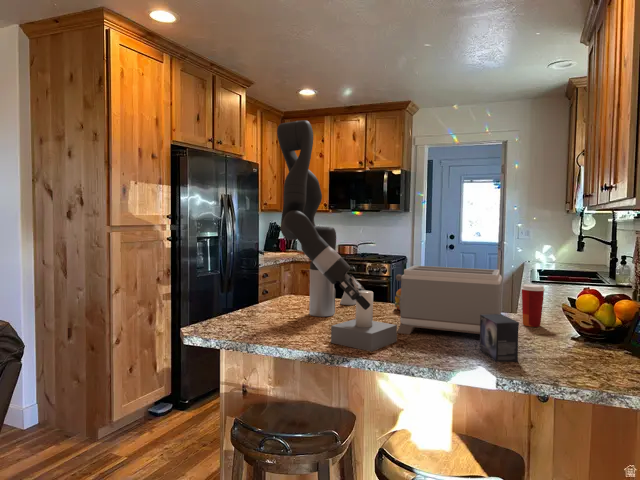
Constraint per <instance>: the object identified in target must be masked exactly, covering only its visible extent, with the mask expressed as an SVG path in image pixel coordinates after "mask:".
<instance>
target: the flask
mask: <svg viewBox="0 0 640 480" xmlns="http://www.w3.org/2000/svg"><path fill="white" fill-rule="evenodd" d="M339 304H340V305H345V306H354V305H355V306H356V301H355V300H352V299H351V298H350V297H349V295H348V294H347V293H346V292H345V291H344V290H343V295H342V296H341V300H340V302H339Z"/></svg>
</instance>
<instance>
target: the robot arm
mask: <svg viewBox="0 0 640 480" xmlns="http://www.w3.org/2000/svg"><path fill="white" fill-rule="evenodd" d="M276 129H277V130H276V133H277V134H276V135H277V139H278V140H277V141H278V143H279V147H280V150H281V153H282V155H283V158H284V161H285V164H286V166H287V169H288V173H287V175H286V177H285V180H284V183H283V197H282V198H283V199H282V200H283V206H282V213H281V220H280V231H281V232H280V233H281V234H282V236H283V237H284V238H285V239H287V240H289V241H295V240H298V242H299V243H300V247H301V251H302V253H304V254H305V256H306V257H307V258H308V259H309V260H310V263H309V310H308V311H309V313H308V314H309V315H310V316H313V317H332V316H334V314H336V288H335V284H336V283H337V282H339V283H340V284H339V288H341V289H342V290H343V292H344V291H345V292H346V293H347V294H348V295H349V297H350V298H351V299H352V300H355V301H356V300H357V302H358V303H359V304H360V305H361V306H362V307H363V308H364V309H365V310H366V309H368V308H369V307H370V303H369V302H368V301H367V300H366V299H365V298H364V297H363V296H362V294H361V293H360V292H359V291H361V290H365V288H364V286H363V285H362V284H361V283H360V282H359V281H358V280H357V279H356V278H355V277H354V276H353V274H351V273H350V274H348V272H349V271H350V270H351V265H349V263H348V262H347V261H346V260H345V259H344V258H343V257H342V256H341V255H340V254H339V253H338V252H337V251H336V248H337V232H336V230H335V228H334V227H332V226H317V225H316V223H315V216H316V213H317V211H318V209H319V207H320V206H321V202H322V201H323V194H322V190H321V185H320V182H319V179H318V178H317V176H316V175H315V174H314V173H313V172H312V171H311V170H310V169H309V168H310V163H311V160H312V153H313V147H314V131H313V128H312V124H311V123H310V121H308V120H305V119H304V120H296V121H295V120H294V121H288V122H283V123H280V124H279V125H278V126H277V127H276ZM296 151H299V154H298V155H297V153H296Z"/></svg>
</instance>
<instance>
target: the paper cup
mask: <svg viewBox="0 0 640 480" xmlns="http://www.w3.org/2000/svg"><path fill="white" fill-rule="evenodd" d="M520 290H521V306H522V309H521V310H522V326H525V327H530V328H539V327H541V323H542V314H543V304H544V296H545V293H544V292H545V291H546V289H545V287H544V285H541V284H530V283H528V284H525V283H524V284H522V285H521V287H520Z"/></svg>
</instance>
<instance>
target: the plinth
mask: <svg viewBox="0 0 640 480" xmlns="http://www.w3.org/2000/svg"><path fill="white" fill-rule="evenodd" d="M397 331H398V325H397V324H392V323H387V322H383V321H382V322H381V321H377V320H376V321H375V320H373V325H372V327H357V326H356V318H355V319H350V320H346V321H343V322H340V323H337V324H334V325H332V324H331V325H330V343H331V344H334V345H335V344H336V345H340V346H344V347H345V346H346V347H347V348H348V347H349V348H353V349H357V350H358V349H359V350H363V351H368V352H371V353H372V352H374V351H377V350H379V349H381V348H385V347H386V346H389V345H392V344H393V343H397V342H398V341H397V340H398V338H397V336H398V335H397V334H398V333H397Z"/></svg>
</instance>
